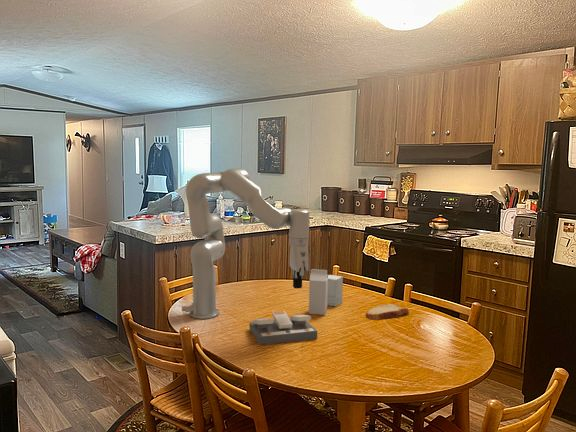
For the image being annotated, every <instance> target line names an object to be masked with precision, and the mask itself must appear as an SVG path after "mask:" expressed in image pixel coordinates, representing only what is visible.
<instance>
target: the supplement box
mask: <svg viewBox="0 0 576 432" xmlns="http://www.w3.org/2000/svg"><path fill="white" fill-rule="evenodd" d="M343 280H344V276H342V275H341V276H340V275H333V274H328V295H327V306H331V307H337V306H340V305H341V304H343V288H344V287H343V282H344V281H343Z"/></svg>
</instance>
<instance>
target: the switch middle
mask: <svg viewBox="0 0 576 432" xmlns="http://www.w3.org/2000/svg"><path fill="white" fill-rule="evenodd" d="M271 316H272V319H273V320H275V322H276V323H277V325H278V327H279V329H282V328H292V322H291V321H290V316H288V314H287V312H286V311H285V310H279V311H278V310H277V311H276V310H275V311H272V312H271Z"/></svg>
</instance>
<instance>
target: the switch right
mask: <svg viewBox="0 0 576 432" xmlns="http://www.w3.org/2000/svg"><path fill="white" fill-rule="evenodd" d="M289 319H291V320H295V321H312V316H311V315H307V314H303V313H302V314H301V313H300V314H299V313H298V314H292V315H290V316H289Z"/></svg>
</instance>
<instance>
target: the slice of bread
mask: <svg viewBox="0 0 576 432" xmlns="http://www.w3.org/2000/svg"><path fill="white" fill-rule="evenodd" d="M409 312H410V311H409V309H408V308H407V307H404V306H403V307H401V306H399V305H397V304H396V303H388V304H382V305H378V306H377V305H376V306H374V307H373V308H370V309H368V310H367V311H366V313H365V317H366V319H368V320H370V321H371V320H372V321H375V320H377V321H379V320H386V319H392V318H396V317H401V315H402V316H404V315H407V314H409Z"/></svg>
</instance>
